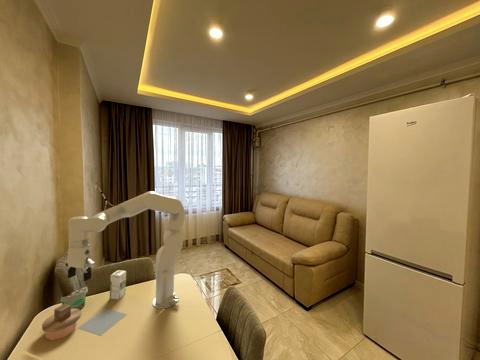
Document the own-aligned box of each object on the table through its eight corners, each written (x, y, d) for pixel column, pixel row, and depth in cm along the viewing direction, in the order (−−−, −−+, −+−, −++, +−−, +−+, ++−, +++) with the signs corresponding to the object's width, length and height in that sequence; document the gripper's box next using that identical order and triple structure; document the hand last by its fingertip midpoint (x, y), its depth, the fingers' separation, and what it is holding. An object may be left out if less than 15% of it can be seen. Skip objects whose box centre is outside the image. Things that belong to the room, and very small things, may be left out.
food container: (69, 319, 95) (70, 299, 95) (59, 317, 96) (60, 297, 96) (93, 303, 107) (93, 285, 107) (84, 301, 108) (84, 284, 108)
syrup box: (116, 293, 117) (116, 269, 116) (125, 294, 116) (126, 270, 116) (109, 299, 111) (110, 274, 111) (119, 300, 111) (120, 275, 110)
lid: (88, 314, 92) (88, 301, 92) (55, 335, 80) (55, 321, 80) (68, 308, 96) (68, 296, 96) (34, 327, 83) (34, 313, 83)
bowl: (82, 325, 92) (82, 315, 91) (57, 343, 82) (57, 331, 82) (66, 320, 94) (66, 310, 94) (40, 337, 85) (40, 325, 84)
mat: (127, 315, 99) (127, 314, 99) (100, 337, 86) (100, 335, 86) (105, 309, 103) (105, 308, 103) (77, 329, 90) (77, 327, 90)
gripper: (101, 242, 94) (101, 277, 94) (73, 238, 98) (74, 271, 99) (85, 247, 87) (85, 285, 87) (56, 243, 91) (57, 279, 92)
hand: (79, 278), depth 93 cm, fingers open, 9 cm apart
